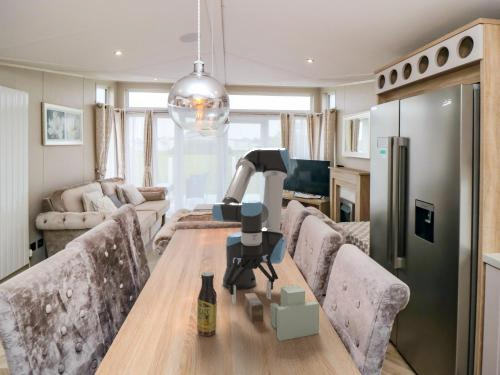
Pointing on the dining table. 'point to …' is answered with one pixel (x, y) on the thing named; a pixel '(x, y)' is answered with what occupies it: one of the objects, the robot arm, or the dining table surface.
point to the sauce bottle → (207, 306)
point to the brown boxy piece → (254, 307)
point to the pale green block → (294, 314)
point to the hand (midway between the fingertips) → (251, 300)
